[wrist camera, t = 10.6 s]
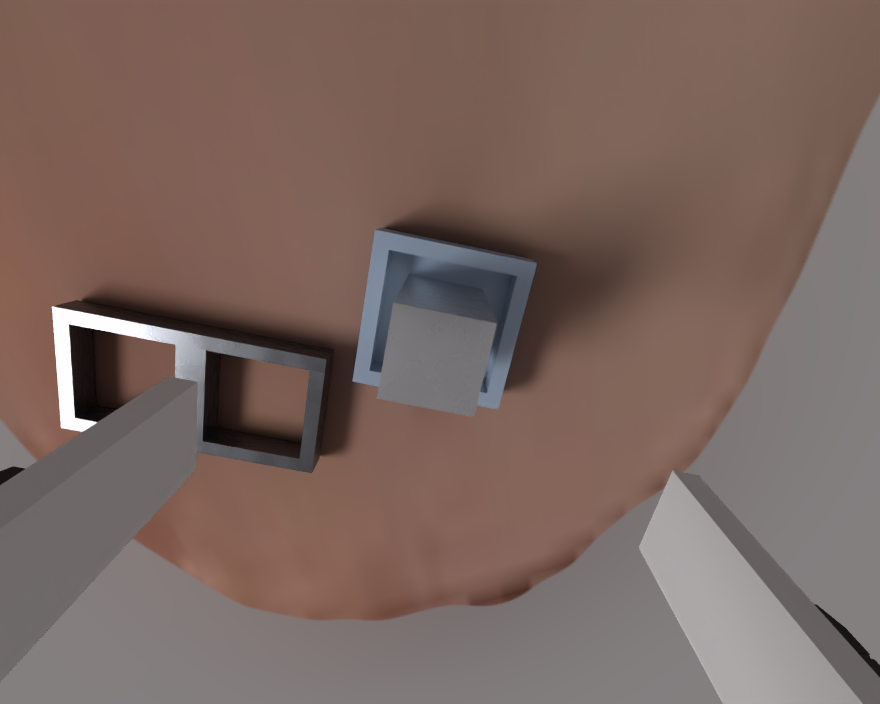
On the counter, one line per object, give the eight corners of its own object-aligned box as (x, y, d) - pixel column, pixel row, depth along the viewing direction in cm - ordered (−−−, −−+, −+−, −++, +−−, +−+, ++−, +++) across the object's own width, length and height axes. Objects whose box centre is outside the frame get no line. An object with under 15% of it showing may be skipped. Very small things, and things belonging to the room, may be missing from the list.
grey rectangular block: (408, 274, 29) (393, 302, 21) (482, 289, 30) (497, 323, 21) (396, 345, 31) (376, 398, 22) (466, 358, 31) (473, 416, 23)
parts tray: (381, 227, 29) (375, 229, 27) (529, 258, 30) (537, 263, 27) (359, 368, 32) (352, 381, 30) (494, 394, 33) (498, 409, 30)
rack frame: (76, 300, 31) (52, 306, 29) (333, 350, 32) (326, 359, 30) (82, 415, 34) (61, 427, 32) (319, 458, 35) (311, 473, 33)
